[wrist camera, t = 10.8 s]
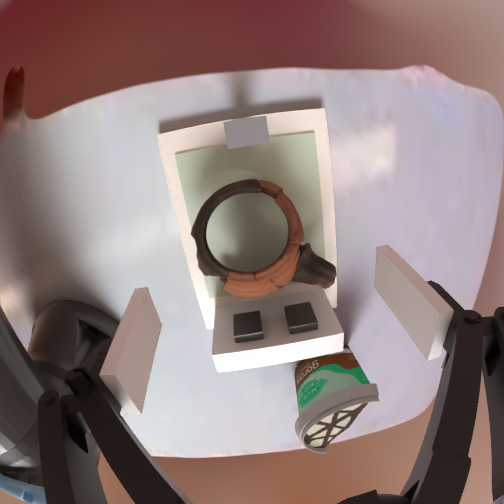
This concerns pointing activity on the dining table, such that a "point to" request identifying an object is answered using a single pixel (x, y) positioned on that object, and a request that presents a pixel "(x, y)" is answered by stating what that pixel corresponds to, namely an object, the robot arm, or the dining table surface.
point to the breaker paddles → (296, 316)
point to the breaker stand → (257, 230)
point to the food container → (330, 397)
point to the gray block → (246, 132)
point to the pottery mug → (283, 268)
